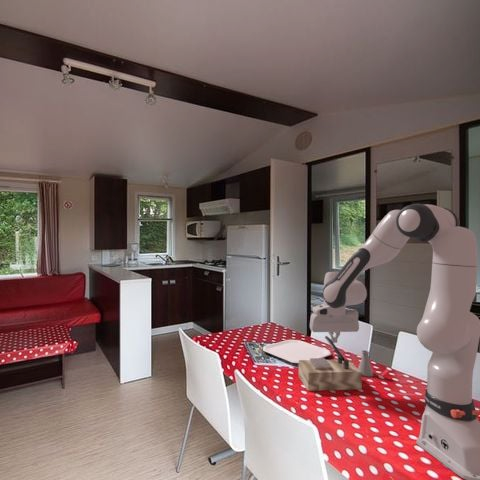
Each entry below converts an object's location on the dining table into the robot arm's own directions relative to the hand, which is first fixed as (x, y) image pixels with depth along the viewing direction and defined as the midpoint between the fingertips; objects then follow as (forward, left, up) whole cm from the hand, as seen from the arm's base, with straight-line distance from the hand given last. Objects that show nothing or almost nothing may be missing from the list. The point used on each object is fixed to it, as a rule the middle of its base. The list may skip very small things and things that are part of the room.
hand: (334, 342), depth 132 cm
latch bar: (0, 0, -3) cm, 3 cm away
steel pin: (0, +6, -16) cm, 17 cm away
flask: (+8, -18, -17) cm, 26 cm away
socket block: (0, +2, -17) cm, 17 cm away
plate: (+34, +6, -17) cm, 39 cm away
